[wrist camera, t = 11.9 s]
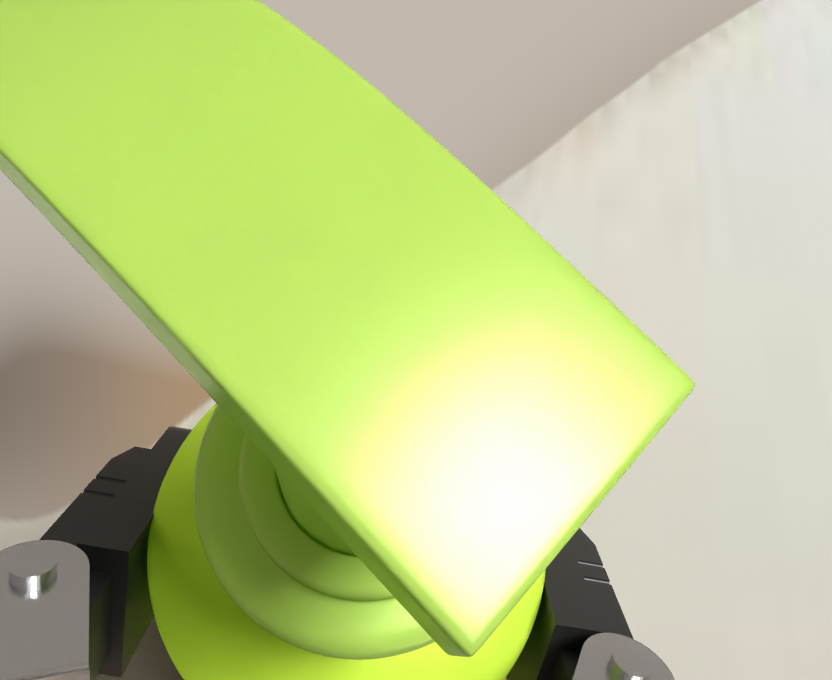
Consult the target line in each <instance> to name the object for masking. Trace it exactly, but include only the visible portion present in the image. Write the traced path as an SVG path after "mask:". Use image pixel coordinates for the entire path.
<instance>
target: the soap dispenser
mask: <svg viewBox="0 0 832 680" xmlns="http://www.w3.org/2000/svg"><path fill="white" fill-rule="evenodd" d="M0 170H1V171H2V172H3V173H4V174H5V175H6V176H7V177H8V178H9V179H10V180H11V181H12V182H13V184H14V185H15V186H17V188H18V189H19V190H20V191H21V192H22V193H23V194H24V195H25V196H26V197H27V198H28V199H29V200H30V202H32V204H33V205H34V206H35V207H36V208H37V209H38V210H39V211H40V212H41V213H42V214H43V215H44V216H45V218H46V219H47V220H48V221H50V223H51V224H52V225H53V226H54V227H55V228H56V229H57V230H58V231H59V232H60V234H61V235H62V236H63V237H64V238H65V239H66V240H67V241H68V242H69V243H70V244H71V245H72V246H73V247H74V249H75V250H76V251H77V252H78V253H79V254H80V255H81V256H82V257H83V258H84V259H85V260H86V261H87V263H88V264H89V265H90V266H91V267H92V268H93V269H94V270H95V271H96V272H97V273H98V274H99V275H100V276H101V278H102V279H103V280H104V281H105V282H106V283H107V284H108V285H109V286H110V287H111V288H112V290H113V291H114V292H115V293H116V294H117V295H118V296H119V297H120V298H121V299H122V300H123V302H125V303H126V305H127V306H128V307H129V308H130V309H131V310H132V311H133V312H134V313H135V315H136V316H137V317H138V318H139V319H140V320H141V321H142V322H143V323H144V324H145V325H146V327H147V328H148V329H149V330H150V331H151V332H152V333H153V334H154V335H155V336H156V337H157V338H158V340H159V341H160V342H161V343H162V344H163V345H164V346H165V347H166V348H167V349H168V351H169V352H171V354H172V355H173V356H174V357H175V358H176V359H177V360H178V361H179V362H180V364H181V365H182V366H183V367H184V368H185V369H186V370H187V371H188V372H189V373H190V375H191V376H192V377H193V378H194V379H195V380H196V381H197V382H198V383H199V384H200V385H201V387H203V389H204V390H205V391H206V392H207V393H208V394H209V395H210V396H211V397H212V398H213V400H214V401H215V402H216V403H217V404H215V405H214V406H213V407H212V408H211V409H210V410H209V411H208V412H207V413H206V414H205V415H204V417H203V418H202V419H201V420H200V421H199V422H198V423H197V425H196V426H195V427H194V428H193V430H192V431H191V432H190V434H189V435H188V436H187V438H186V439H185V441H184V442H183V444H182V445H181V447H180V448H179V450H178V452H177V453H176V455H175V457H174V459H173V461H172V463H171V464H170V466H169V468H168V471H167V473H166V475H165V477H164V480H163V482H162V485H161V487H160V490H159V493H158V496H157V499H156V503H155V506H154V510H153V513H154V516H153V519H152V522H151V526H150V531H149V538H148V550H147V573H148V585H149V593H150V599H151V605H152V609H153V613H154V617H155V621H156V624H157V627H158V630H159V633H160V636H161V638H162V641H163V643H164V646H165V648H166V650H167V652H168V654H169V656H170V658H171V660H172V662H173V664H174V665H175V667H176V669H177V671H178V672H179V674H180V675H181V677H182V678H183V680H504V679H505V677H506V676H507V675H508V673H509V672H510V670H511V669H512V667H513V666H514V664H515V662H516V661H517V659H518V657H519V655H520V654H521V652H522V650H523V648H524V646H525V644H526V642H527V639H528V637H529V635H530V632H531V630H532V627H533V625H534V622H535V619H536V616H537V613H538V609H539V605H540V602H541V597H542V592H543V587H544V581H545V572H546V568H547V567H548V565H549V564H550V563H551V562H552V561H553V559H554V558H555V557H556V556H557V554H558V553H559V552H560V551H561V550H562V548H563V547H564V546H565V545H566V544H567V542H568V541H569V540H570V539H571V537H572V536H573V535H574V534H575V533H576V531H577V530H578V529H579V528H580V526H581V525H582V524H583V523H584V522H585V520H586V519H587V518H588V517H589V516H590V514H591V513H592V512H593V511H594V509H595V508H596V507H597V506H598V505H599V503H600V502H601V501H602V500H603V499H604V497H605V496H606V495H607V494H608V492H609V491H610V490H611V489H612V488H613V486H614V485H615V484H616V483H617V482H618V480H619V479H620V478H621V477H622V475H623V474H624V473H625V472H626V471H627V469H628V468H629V467H630V466H631V464H632V463H633V462H634V461H635V460H636V458H637V457H638V456H639V455H640V454H641V452H642V451H643V450H644V449H645V447H646V446H647V445H648V444H649V443H650V441H651V440H652V439H653V438H654V437H655V435H656V434H657V433H658V432H659V430H660V429H661V428H662V427H663V426H664V424H665V423H666V422H667V421H668V420H669V418H670V417H671V416H672V415H673V413H674V412H675V411H676V410H677V409H678V407H679V406H680V405H681V404H682V402H683V401H684V400H685V399H686V397H687V396H688V395H689V394H690V392H691V391H692V390H693V388H694V387H695V383H694V382H693V380H692V379H691V378H690V377H689V376H688V375H687V374H686V373H685V372H684V371H683V370H682V369H681V368H680V367H679V366H678V365H676V364H675V363H674V362H673V361H672V360H671V359H670V358H669V357H668V356H667V355H666V354H665V353H664V352H663V351H662V350H661V349H660V348H659V347H658V346H657V345H656V344H654V343H653V342H652V341H651V340H650V339H649V338H648V337H647V336H646V335H645V334H644V333H643V332H642V331H641V330H640V329H639V328H638V327H637V326H636V325H635V324H633V323H632V322H631V321H630V320H629V319H628V318H627V317H626V316H625V315H624V314H623V313H622V312H621V311H620V310H619V309H618V308H617V307H616V306H615V305H613V304H612V303H611V302H610V301H609V300H608V299H607V298H606V297H605V296H604V295H603V294H602V293H601V292H600V291H599V290H598V289H597V288H596V287H594V286H593V285H592V284H591V283H590V282H589V281H588V280H587V279H586V278H585V277H584V276H583V275H582V274H581V273H580V272H579V271H578V270H576V269H575V268H574V267H573V266H572V265H571V264H570V263H569V262H568V261H567V260H566V259H565V258H564V257H563V256H562V255H561V254H559V253H558V252H557V251H556V250H555V249H554V248H553V247H552V246H551V245H550V244H549V243H548V242H547V241H546V240H544V239H543V238H542V237H541V236H540V235H539V234H538V233H537V232H536V231H535V230H534V229H533V228H532V227H531V226H529V225H528V224H527V223H526V222H525V221H524V220H523V219H522V218H521V217H520V216H519V215H518V214H517V213H515V212H514V211H513V210H512V209H511V208H510V207H509V206H508V205H507V204H506V203H505V202H504V201H502V200H501V199H500V198H499V197H498V196H497V195H496V194H495V193H494V192H493V191H492V190H490V189H489V188H488V187H487V186H486V185H485V184H484V183H483V182H482V181H480V180H479V179H478V178H477V177H476V176H475V175H474V174H473V173H472V172H471V171H470V170H469V169H467V168H466V167H465V166H464V165H463V164H462V163H460V161H458V160H457V159H456V158H455V157H454V156H453V155H452V154H450V152H448V151H447V150H446V149H445V148H444V147H443V146H442V145H441V144H439V143H438V142H437V141H436V140H435V139H434V138H433V137H431V136H430V135H429V134H428V133H427V132H426V131H425V130H424V129H422V128H421V127H420V126H419V125H418V124H417V123H416V122H415V121H413V120H412V119H411V118H410V117H409V116H408V115H406V114H405V113H404V112H403V111H402V110H401V109H399V108H398V107H397V106H396V105H395V104H394V103H392V102H391V101H390V100H389V99H388V98H386V97H385V96H384V95H383V94H382V93H380V92H379V91H378V90H377V89H376V88H374V87H373V86H372V85H371V84H370V83H368V82H367V81H366V80H365V79H364V78H362V77H361V76H360V75H359V74H357V73H356V72H355V71H354V70H352V69H351V68H350V67H349V66H347V65H346V64H345V63H344V62H342V61H341V60H340V59H338V58H337V57H336V56H335V55H333V54H332V53H331V52H330V51H328V50H327V49H326V48H324V47H323V46H322V45H320V44H319V43H318V42H316V41H315V40H314V39H312V38H311V37H310V36H308V35H307V34H306V33H304V32H303V31H302V30H300V29H299V28H298V27H296V26H295V25H293V24H292V23H290V22H289V21H288V20H286V19H285V18H283V17H282V16H280V15H279V14H278V13H276V12H275V11H273V10H272V9H270V8H269V7H267V6H266V5H264V4H263V3H261V2H260V1H258V0H0Z"/></svg>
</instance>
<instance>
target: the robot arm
mask: <svg viewBox="0 0 832 680" xmlns="http://www.w3.org/2000/svg"><path fill="white" fill-rule="evenodd" d="M191 431H192V430H190V429H185V428H179V427H173V426H170V427H169V428H168V429H167V430H166V431H165V433H164V434H163V435H162V436H161V438H160V439H159V440H158V441H157V443H156V444H155V445H154V447H153V448H152V449H146V448H140V447H134V448H132V449H130V450H128V451H126V452H124V453H122V454H120V455H118V456H116V457H114V458H112V459H111V460H110V461H109V462H108V463H107V464H106V466H105V467H104V468H103V469H102V470H101V471H100V472H99V474H97V476H96V479H93V480H92V481H91V482H90V483H89V485H88V486H87V487H86V488H85V489H84V492H83V493H81V494H80V495H79V496H78V497H77V498H76V499H75V500H74V501H73V503H72V504H71V505H70V506H69V507H68V508H67V509H66V510H65V512H64V513H63V514H62V515H61V516H60V517H59V518H58V519H57V521H56V522H55V523H54V524H53V525H52V526H51V527H50V528H49V530H48V531H47V532H46V533H45V534H44V535H43V536H42V537H41V539H40V540H37V541H30V542H25V543H21V544H17V545H14V546H11V547H8V548H6V549H4V550H2V551H0V680H95V678H96V677H97V675H98V674H104V675H111V676H118V677H121V676H122V674H123V672H124V670H125V669H126V667H127V665H128V663H129V661H130V659H131V657H132V655H133V653H134V652H135V650H136V648H137V646H138V644H139V642H140V640H141V638H142V636H143V634H144V633H145V631H146V629H147V627H148V625H149V623H150V621H151V619H152V617H153V615H154V613H153V609H152V605H151V599H150V593H149V585H148V573H147V550H148V538H149V531H150V526H151V522H152V519H153V516H154V513H153V510H154V506H155V503H156V499H157V496H158V493H159V490H160V487H161V485H162V482H163V480H164V477H165V475H166V473H167V471H168V468H169V466H170V464H171V463H172V461H173V459H174V457H175V455H176V453H177V452H178V450H179V448H180V447H181V445H182V444H183V442H184V441H185V439H186V438H187V436H188V435H189V434H190V432H191ZM602 566H603V563H602V561H601V559H600V556H599V554H598V551H597V549H596V546H595V544H594V543H593V542H592V541H591V540H590V539H589V538H588V537H587V536H586V534H585V533H584V532H583V531H582V530H581V529H580V528H579V529H578V530H577V531H576V533H575V534H574V535H573V536H572V537H571V539H570V540H569V541H568V542H567V544H566V545H565V546H564V547H563V548H562V550H561V551H560V552H559V553H558V554H557V556H556V557H555V558H554V559H553V561H552V562H551V563H550V564H549V565H548V567H547V568H546V572H545V581H544V587H543V592H542V597H541V602H540V605H539V609H538V613H537V616H536V619H535V622H534V625H533V627H532V630H531V632H530V635H529V637H528V639H527V642H526V644H525V646H524V648H523V650H522V652H521V654H520V655H519V657H518V659H517V661H516V662H515V664H514V666H513V667H512V669H511V670H510V672H509V673H508V675H507V676H506V680H674V677H673V675H672V673H671V672H670V670H669V668H668V667H667V666H666V664H665V663H664V662H663V661H662V660H661V659H660V658H659V657H658V656H657V655H656V654H655V653H654V652H653V651H651V650H650V649H649V648H647V647H646V646H644V645H643V644H641V643H639V642H638V641H636V640H634V639H633V637H632V634H631V632H630V629H629V627H628V625H627V622H626V620H625V617H624V615H623V612H622V610H621V607H620V605H619V603H618V600H617V598H616V595H615V593H614V590H613V588H612V585H609V578H608V576H607V573H606V571H605V568H603V567H602Z"/></svg>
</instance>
